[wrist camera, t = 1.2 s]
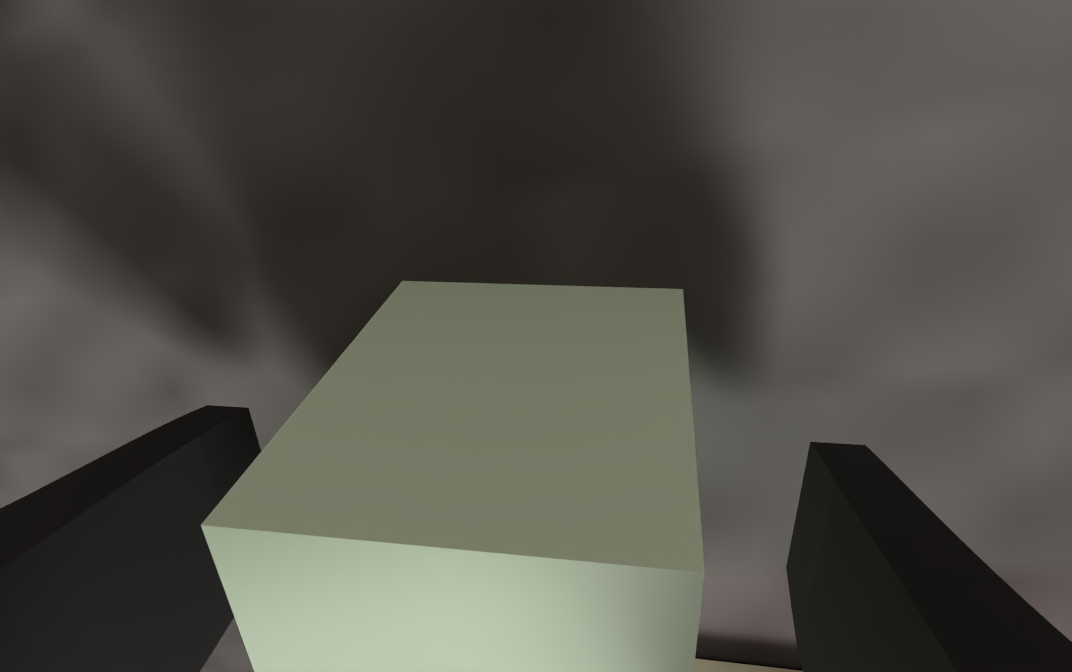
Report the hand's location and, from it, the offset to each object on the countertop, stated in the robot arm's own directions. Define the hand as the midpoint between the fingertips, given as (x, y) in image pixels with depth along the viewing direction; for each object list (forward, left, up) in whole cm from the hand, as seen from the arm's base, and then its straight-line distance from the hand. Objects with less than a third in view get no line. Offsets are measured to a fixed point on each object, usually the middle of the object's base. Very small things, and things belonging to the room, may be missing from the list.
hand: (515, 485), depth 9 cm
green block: (0, 0, -2) cm, 2 cm away
